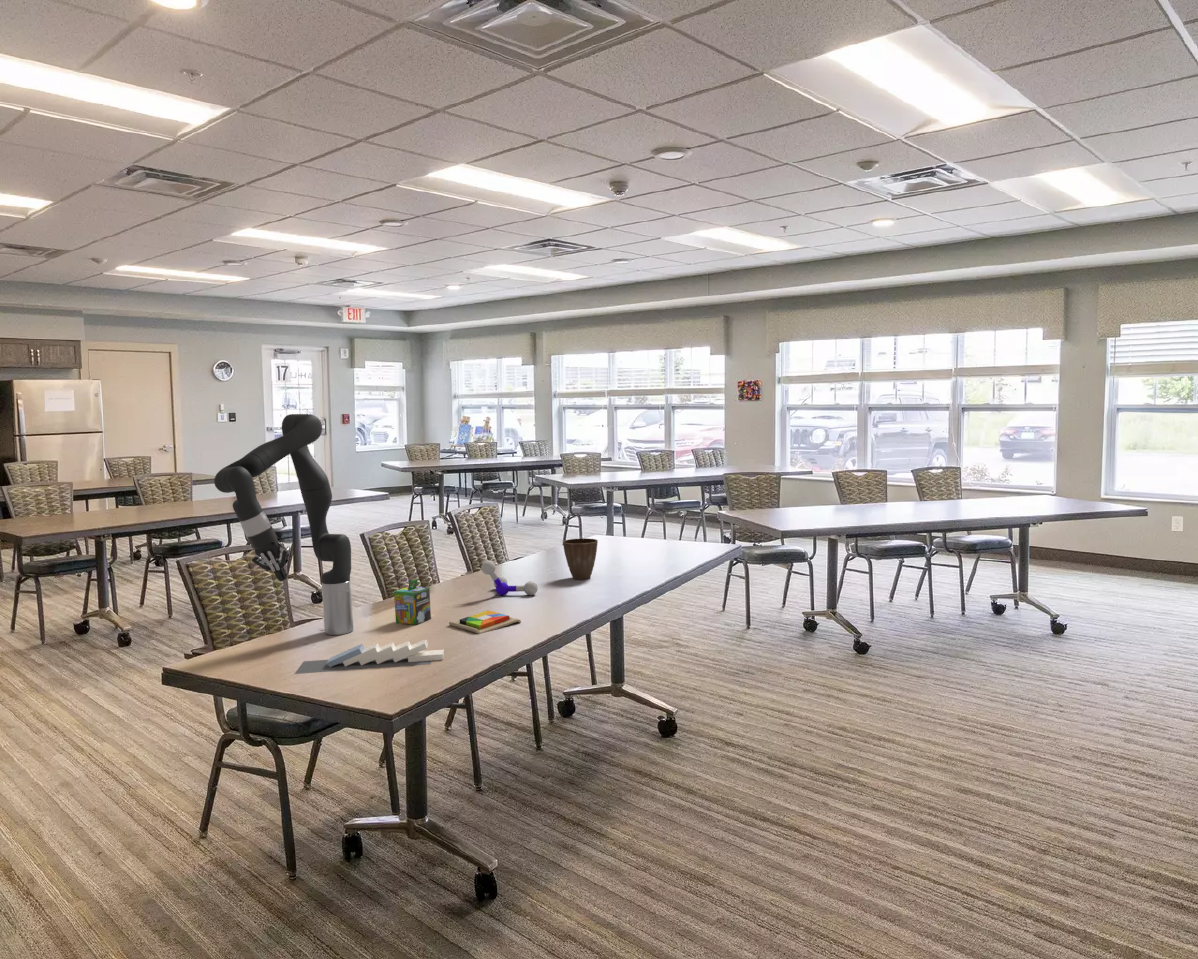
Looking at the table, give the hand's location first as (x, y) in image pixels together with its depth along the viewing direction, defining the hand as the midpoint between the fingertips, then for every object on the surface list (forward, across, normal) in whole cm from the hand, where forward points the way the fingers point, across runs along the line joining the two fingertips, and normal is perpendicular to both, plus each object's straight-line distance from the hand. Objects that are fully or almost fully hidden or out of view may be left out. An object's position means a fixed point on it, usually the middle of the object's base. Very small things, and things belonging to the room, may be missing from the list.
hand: (284, 579), depth 255 cm
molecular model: (+59, +33, +77) cm, 102 cm away
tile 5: (+29, +29, -9) cm, 42 cm away
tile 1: (+23, +12, -14) cm, 30 cm away
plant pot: (+72, +52, +106) cm, 138 cm away
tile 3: (+26, +20, -12) cm, 35 cm away
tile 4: (+28, +24, -10) cm, 38 cm away
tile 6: (+30, +32, -8) cm, 45 cm away
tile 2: (+25, +16, -13) cm, 32 cm away
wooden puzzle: (+46, +39, +32) cm, 69 cm away
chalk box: (+40, +12, +35) cm, 55 cm away
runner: (+28, +21, -12) cm, 37 cm away
